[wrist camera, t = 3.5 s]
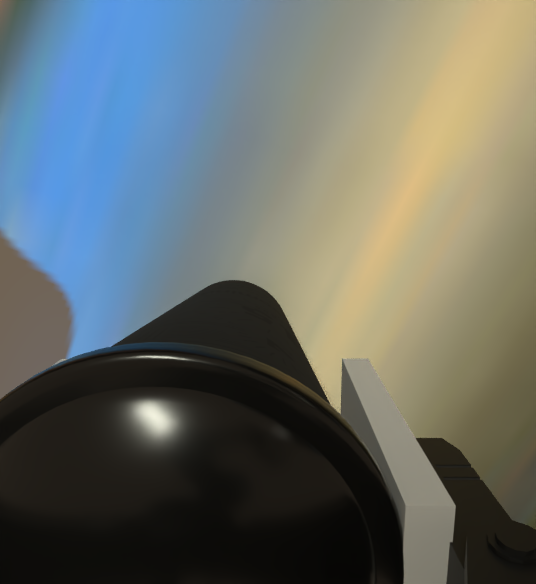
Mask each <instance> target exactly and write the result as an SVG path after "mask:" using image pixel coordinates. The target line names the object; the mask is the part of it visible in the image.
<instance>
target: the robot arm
mask: <svg viewBox="0 0 536 584" xmlns="http://www.w3.org/2000/svg"><path fill="white" fill-rule="evenodd" d="M65 360H67V359H61V360H60V361H58V362H57V363H56V364H58V363H60V362H62V361H65ZM54 365H55V364H54ZM341 416H342V417H343V418H344V419H345V420H346V421H347V422H348V423H349V424H350V425H351V426H352V427H353V429H354V430H355V431H356V432H357V434H358V435H359V436H360V437H361V438H362V440H363V441H364V442H365V444H366V446H367V447H368V449H369V450H370V452H371V453H372V455H373V456H374V458H375V460H376V461H377V463H378V465H379V467H380V469H381V471H382V473H383V475H384V477H385V479H386V481H387V483H388V486H389V488H390V491H391V494H392V496H393V499H394V501H395V504H396V507H397V510H398V513H399V517H400V521H401V525H402V531H403V557H404V584H536V530H535V529H533V528H531V527H530V526H528V525H525V524H522V523H519V522H516V521H513V520H511V518H510V517H509V516H508V514H507V513H506V512H505V510H504V509H503V508H502V506H501V505H500V504H499V502H498V501H497V499H496V498H495V497H494V495H493V494H492V493H491V491H490V490H489V489H488V487H487V486H486V485H485V483H484V482H483V481H482V480H480V477H479V475H478V474H477V473H476V471H475V470H474V469H473V468H471V464H470V463H469V462H468V460H467V459H466V458H465V456H464V455H463V454H462V452H461V451H460V450H459V449H457V448H456V447H454V446H453V445H451V444H450V443H448V442H447V441H445V440H444V439H442V438H415V437H414V435H413V433H412V431H411V430H410V428H409V426H408V425H407V423H406V421H405V420H404V418H403V416H402V415H401V413H400V411H399V410H398V408H397V406H396V405H395V403H394V401H393V400H392V398H391V396H390V394H389V393H388V391H387V389H386V388H385V386H384V384H383V383H382V381H381V379H380V378H379V376H378V374H377V373H376V371H375V369H374V368H373V366H372V364H371V363H370V361H369V359H342V387H341Z"/></svg>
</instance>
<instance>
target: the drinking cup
mask: <svg viewBox="0 0 536 584" xmlns="http://www.w3.org/2000/svg"><path fill="white" fill-rule="evenodd" d="M0 584H404V557H403V531H402V525H401V521H400V517H399V513H398V510H397V507H396V504H395V501H394V499H393V496H392V494H391V491H390V488H389V486H388V483H387V481H386V479H385V477H384V475H383V473H382V471H381V469H380V467H379V465H378V463H377V461H376V460H375V458H374V456H373V455H372V453H371V452H370V450H369V449H368V447H367V446H366V444H365V442H364V441H363V440H362V438H361V437H360V436H359V435H358V434H357V432H356V431H355V430H354V429H353V427H352V426H351V425H350V424H349V423H348V422H347V421H346V420H345V419H344V418H343V417H342V416H341V415H340V414H339V413H338V412H337V411H336V410H335V409H334V408H333V407H332V406H331V405H330V403H329V401H328V399H327V397H326V395H325V393H324V391H323V389H322V387H321V385H320V383H319V381H318V379H317V377H316V375H315V374H314V372H313V370H312V368H311V366H310V364H309V362H308V360H307V358H306V356H305V354H304V352H303V350H302V348H301V346H300V344H299V342H298V340H297V338H296V336H295V334H294V332H293V330H292V328H291V326H290V324H289V322H288V320H287V318H286V316H285V314H284V312H283V310H282V308H281V307H280V305H279V304H278V302H277V301H276V300H275V299H274V298H273V297H272V296H271V295H270V294H269V293H268V292H267V291H265V290H264V289H262V288H261V287H259V286H257V285H254V284H252V283H249V282H245V281H237V280H229V281H222V282H218V283H215V284H212V285H210V286H208V287H206V288H204V289H203V290H201V291H199V292H198V293H196V294H195V295H193V296H191V297H190V298H188V299H187V300H185V301H183V302H182V303H180V304H179V305H177V306H175V307H174V308H172V309H171V310H169V311H167V312H166V313H164V314H163V315H161V316H159V317H158V318H156V319H155V320H153V321H151V322H150V323H148V324H147V325H145V326H143V327H142V328H140V329H139V330H137V331H135V332H134V333H132V334H131V335H129V336H127V337H126V338H124V339H123V340H121V341H119V342H118V343H116V344H115V345H113V346H111V347H107V348H103V349H98V350H95V351H91V352H88V353H84V354H81V355H78V356H75V357H72V358H70V359H67V360H65V361H62V362H60V363H58V364H55V365H53V366H51V367H49V368H48V369H46V370H44V371H42V372H40V373H38V374H36V375H34V376H33V377H31V378H30V379H28V380H27V381H25V382H24V383H22V384H21V385H19V386H17V387H16V388H15V389H13V390H12V391H10V392H9V393H8V394H6V395H5V396H4V397H3V398H2V399H0Z"/></svg>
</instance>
